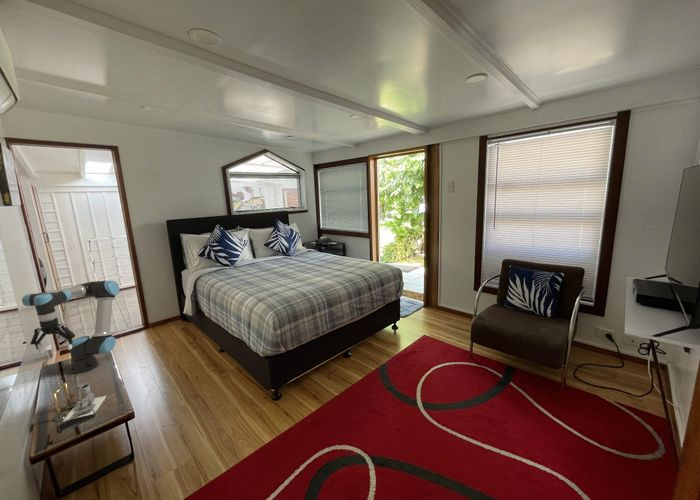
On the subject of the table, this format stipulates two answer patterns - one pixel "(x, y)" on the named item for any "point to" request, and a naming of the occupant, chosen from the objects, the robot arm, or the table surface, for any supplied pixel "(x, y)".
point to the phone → (74, 422)
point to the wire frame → (70, 405)
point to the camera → (86, 399)
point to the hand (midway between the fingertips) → (56, 351)
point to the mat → (97, 401)
